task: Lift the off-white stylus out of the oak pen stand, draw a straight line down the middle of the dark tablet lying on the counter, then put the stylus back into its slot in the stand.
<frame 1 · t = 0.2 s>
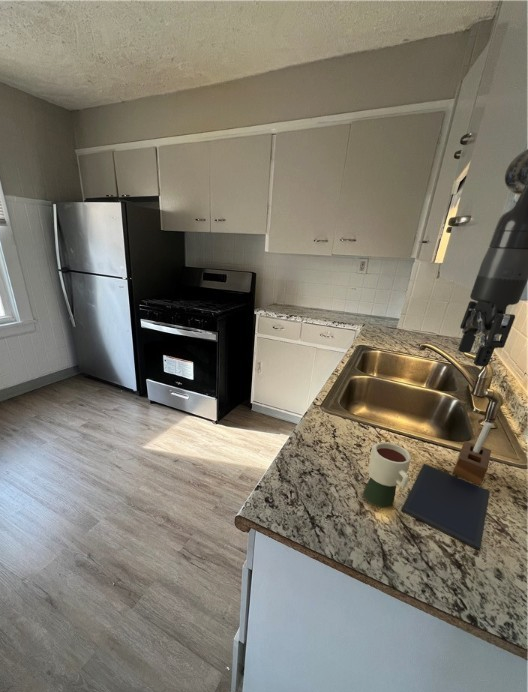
hand: (471, 358, 64), 31 cm above the counter, tool pointing down, fingers open, 8 cm apart
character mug: (377, 499, 70), on the counter
tablet: (446, 501, 70), on the counter
stylus: (469, 465, 82), resting in pen stand
pen stand: (468, 469, 80), on the counter
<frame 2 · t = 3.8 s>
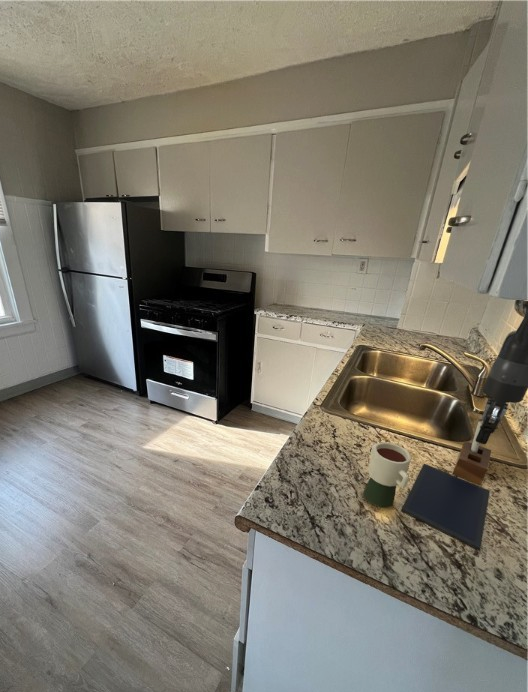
hand: (480, 440, 78), 8 cm above the counter, tool pointing down, fingers closed on stylus, 1 cm apart
stylus: (469, 465, 82), resting in pen stand, tilted 6°, touching gripper
everything else where it was.
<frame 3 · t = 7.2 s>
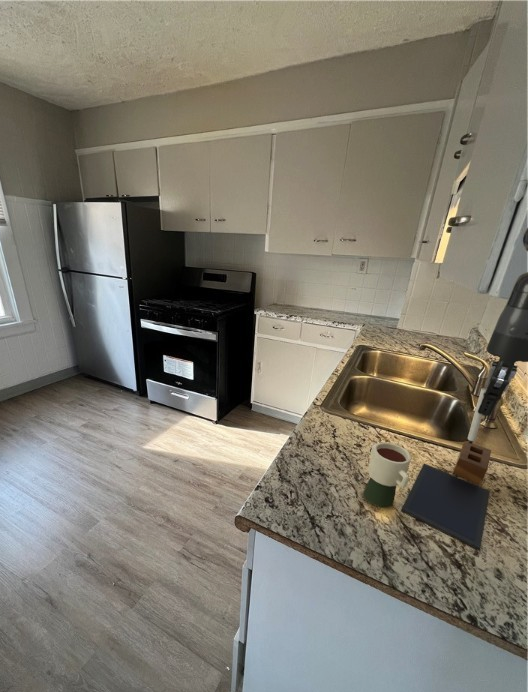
hand: (484, 412, 66), 21 cm above the counter, tool pointing down, fingers closed on stylus, 1 cm apart
stylus: (470, 443, 69), point 12 cm above the counter, tilted 5°, touching gripper
everything else where it was.
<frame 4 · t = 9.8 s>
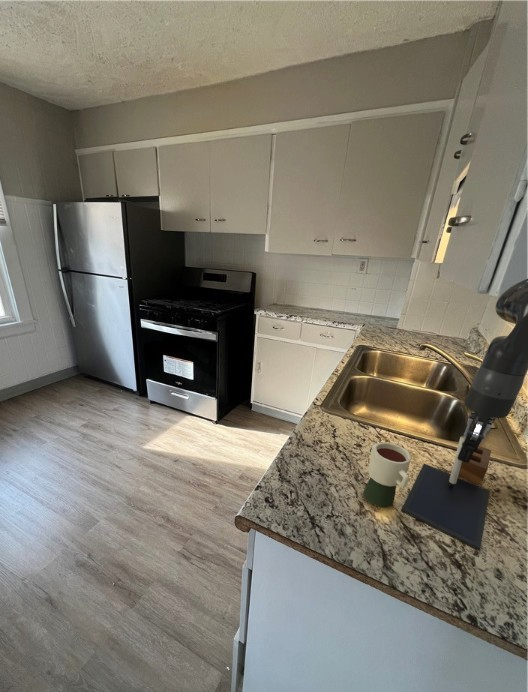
hand: (463, 458, 70), 9 cm above the counter, tool pointing down, fingers closed on stylus, 1 cm apart
stylus: (451, 485, 73), point 1 cm above the counter, tilted 6°, touching gripper, tablet
everything else where it was.
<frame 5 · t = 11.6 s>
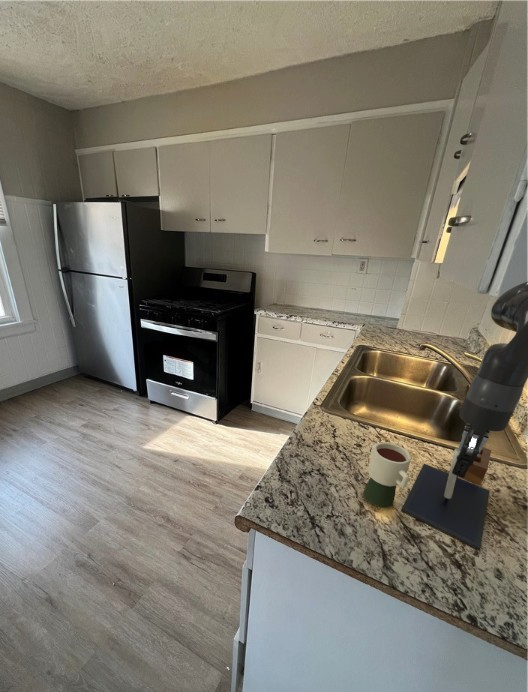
hand: (458, 472, 66), 9 cm above the counter, tool pointing down, fingers closed on stylus, 1 cm apart
stylus: (446, 500, 69), point 1 cm above the counter, tilted 7°, touching gripper
everything else where it was.
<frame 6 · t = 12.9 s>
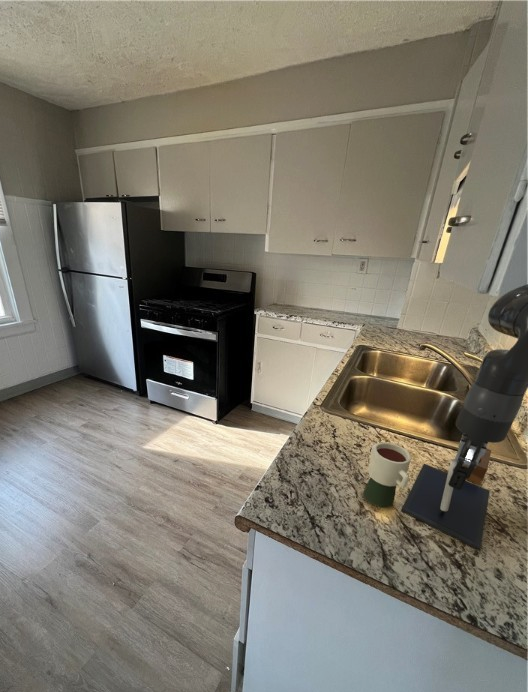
hand: (455, 484, 63), 9 cm above the counter, tool pointing down, fingers closed on stylus, 1 cm apart
stylus: (443, 512, 66), point 1 cm above the counter, tilted 7°, touching gripper, tablet
everything else where it was.
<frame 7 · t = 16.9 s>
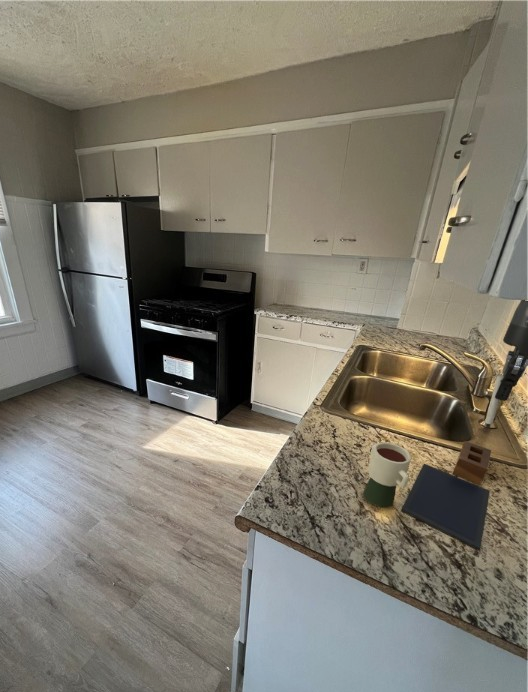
hand: (500, 397, 72), 21 cm above the counter, tool pointing down, fingers closed on stylus, 1 cm apart
stylus: (487, 426, 75), point 13 cm above the counter, tilted 7°, touching gripper
everything else where it was.
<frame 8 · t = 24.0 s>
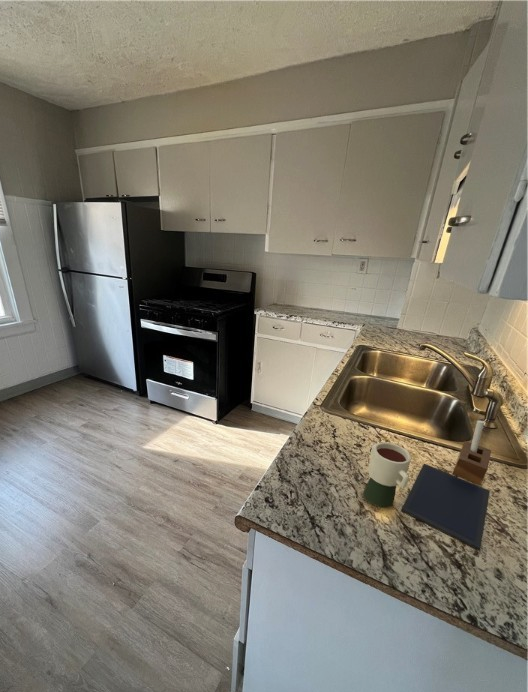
stylus: (469, 465, 82), resting in pen stand, tilted 7°
everything else where it was.
at the end: stylus 0.0 cm from the target spot in the pen stand, point 0.0 cm above the pen stand's base; stylus tilted 7°; the gripper is holding nothing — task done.
